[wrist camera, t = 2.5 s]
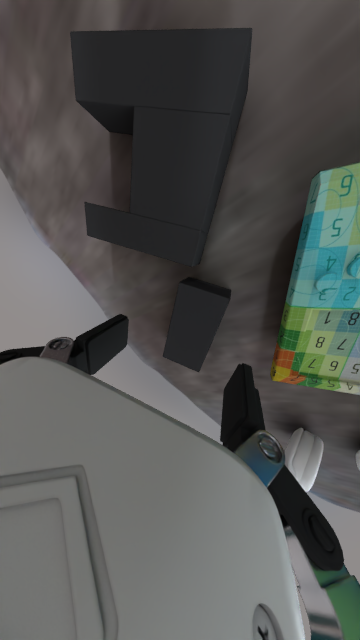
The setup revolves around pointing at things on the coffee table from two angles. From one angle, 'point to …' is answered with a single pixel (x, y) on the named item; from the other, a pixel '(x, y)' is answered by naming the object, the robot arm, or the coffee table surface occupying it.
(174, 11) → the coffee table surface
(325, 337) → the puzzle game
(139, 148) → the notch pad
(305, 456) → the headphones
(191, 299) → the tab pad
